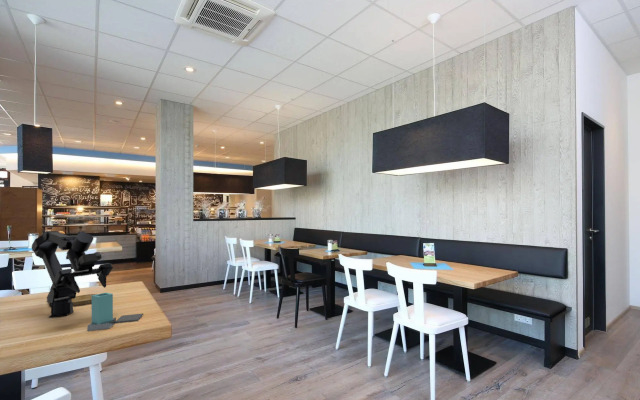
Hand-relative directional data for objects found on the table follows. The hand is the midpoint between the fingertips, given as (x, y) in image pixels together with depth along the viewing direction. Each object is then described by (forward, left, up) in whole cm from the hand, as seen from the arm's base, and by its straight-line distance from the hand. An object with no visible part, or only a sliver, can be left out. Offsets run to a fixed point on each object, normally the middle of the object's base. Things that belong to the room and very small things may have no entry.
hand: (92, 289), depth 125 cm
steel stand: (+5, -5, -13) cm, 15 cm away
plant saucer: (-18, +38, -14) cm, 45 cm away
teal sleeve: (+5, -5, -11) cm, 13 cm away
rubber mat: (+13, +1, -13) cm, 18 cm away
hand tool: (-33, +43, -14) cm, 56 cm away
